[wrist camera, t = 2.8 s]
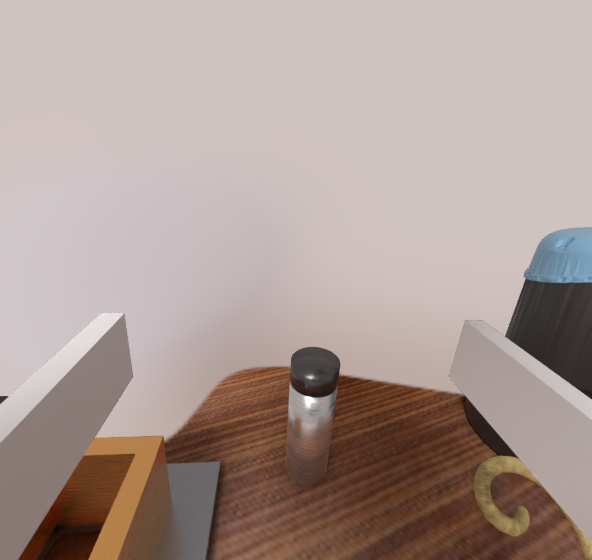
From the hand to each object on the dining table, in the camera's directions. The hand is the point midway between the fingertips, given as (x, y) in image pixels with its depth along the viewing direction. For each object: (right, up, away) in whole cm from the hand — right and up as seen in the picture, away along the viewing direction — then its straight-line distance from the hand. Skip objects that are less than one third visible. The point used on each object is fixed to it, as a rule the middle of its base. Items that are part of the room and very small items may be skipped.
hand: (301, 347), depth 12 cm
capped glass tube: (+1, -15, +17) cm, 23 cm away
